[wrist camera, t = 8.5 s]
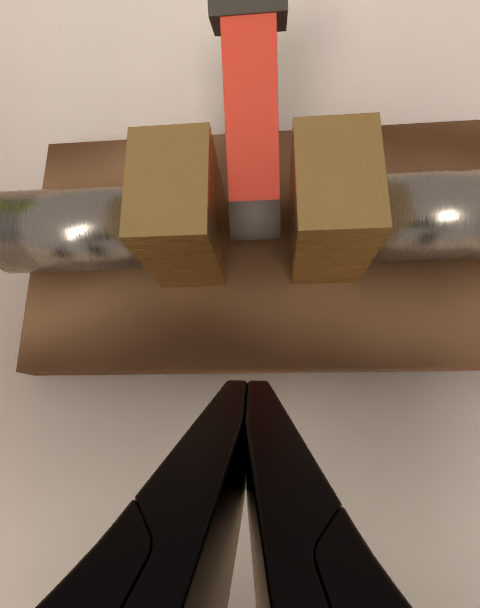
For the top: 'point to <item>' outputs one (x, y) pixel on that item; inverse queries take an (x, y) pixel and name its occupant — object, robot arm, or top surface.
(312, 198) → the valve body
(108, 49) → the top surface
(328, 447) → the top surface
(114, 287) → the walnut board
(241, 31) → the lever
